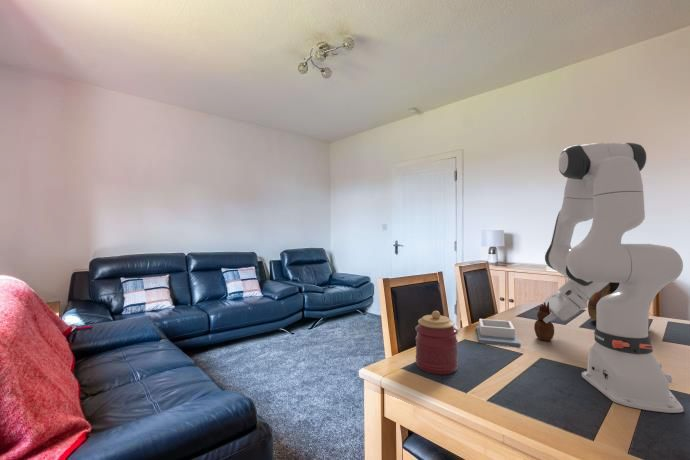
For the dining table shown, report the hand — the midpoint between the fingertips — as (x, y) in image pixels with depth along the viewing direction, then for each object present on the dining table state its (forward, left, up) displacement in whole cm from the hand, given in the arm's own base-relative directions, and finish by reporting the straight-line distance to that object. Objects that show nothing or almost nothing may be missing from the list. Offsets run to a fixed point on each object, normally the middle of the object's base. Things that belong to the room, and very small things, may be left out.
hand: (542, 319), depth 125 cm
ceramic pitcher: (+30, -35, -8) cm, 47 cm away
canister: (-37, +37, -8) cm, 53 cm away
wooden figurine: (0, -1, -8) cm, 8 cm away
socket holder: (-2, +16, -8) cm, 18 cm away
